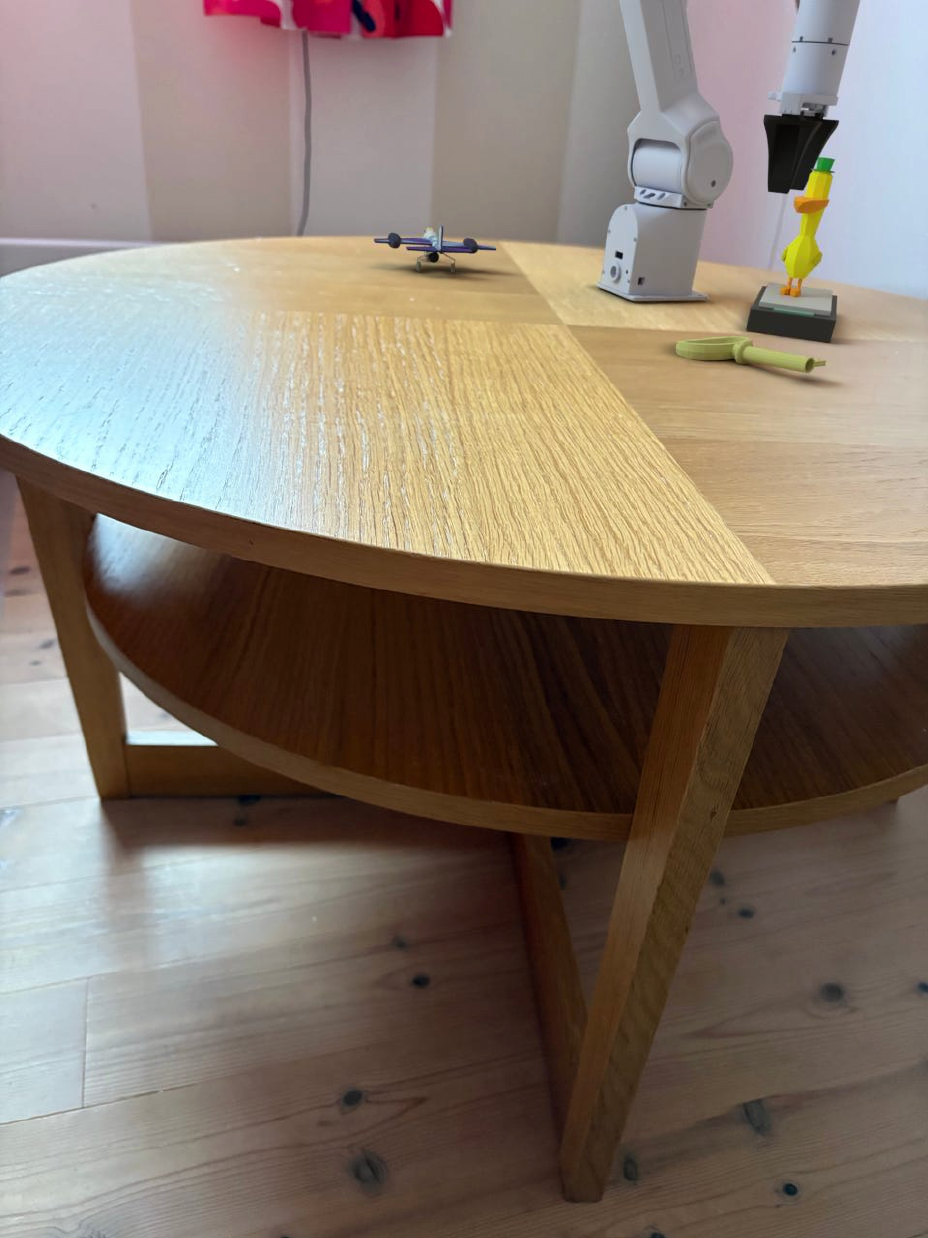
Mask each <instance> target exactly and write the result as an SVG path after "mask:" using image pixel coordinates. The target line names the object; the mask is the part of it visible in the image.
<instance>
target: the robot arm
mask: <svg viewBox="0 0 928 1238" xmlns="http://www.w3.org/2000/svg"><path fill="white" fill-rule="evenodd" d="M618 1H619V5H620V11H621V16H622V21H623V26H624V31H625V36H626V41H627V47H628V52H629V56H630V61H631V67H632V72H633V78H634V81H635V86H636V87H635V88H636V93H637V98H638V102H639V108H640V111H639V112H638V113H637V115H636V116H635V117H634V119H633V120H632V121H631V122H630V124H629V125H628V127H627V129H626V133H627V137H628V144H629V146H628V147H629V150H628V157H627V176H628V179H629V182H630V185H631V186H632V188H633V189H634V194H633V200H637V201H636V202H635V203H627V204H623V205H620V206H619V207H617V208H616V209H615V210H614V212H613V214H612V216H611V218H610V220H609V223H608V227H607V234H606V240H605V247H604V255H603V262H602V267H601V268H602V269H601V276H600V281H596V287H597V288H600V289H602V290H605V291H607V292H609V293H611V294H614V295H617V296H619V297H621V298H624V299H627V300H629V301H632V302H675V301H677V302H679V301H680V302H681V301H682V302H683V301H688V302H689V301H708V300H709V295H707V294H704V293H702V292H700V291H699V292H698V291H696V290H694V289H693V287H694V281H695V276H696V273H697V272H696V271H697V267H698V262H699V256H700V251H701V246H702V240H703V236H704V229H705V225H706V220H707V214H708V209H709V210H711V209H714V205H715V202H716V201H717V200H718V199H719V198H720V197H721V196H722V195H723V193H724V192H725V190H726V189H727V187H728V185H729V184H730V180H731V178H732V174H733V171H734V170H733V169H734V153H733V152H734V151H733V148H732V146H731V143H730V141H729V140H728V138H727V137H726V135H725V134H724V131H723V129H722V124H721V116H720V115H719V113H718V112H717V111H716V110H715V108H714V107H713V106H712V105H711V104H710V103H709V102H708V101H707V100H706V98H705V97H704V96H703V95H702V94H701V93H700V91H699V85H698V78H697V72H696V65H695V58H694V53H693V45H692V40H691V33H690V26H689V20H688V12H687V7H686V0H618ZM860 4H861V0H800V1H799V5H798V9H797V15H796V19H795V23H794V29H793V33H792V38H791V43H790V48H789V50H788V51H789V52H788V56H787V61H786V65H785V70H784V74H783V80H782V82H781V83H782V84H781V88H780V92H777V91H769V92H768V95H767V100H771V101H772V100H774V101H777V102H779V106H778V107H779V108H778V114H779V115H778V114H777V115H776V114H764V115H763V118H762V119H763V121H762V122H763V127H764V130H765V136H766V141H767V142H766V143H767V192H768V193H773V194H782V195H789V193H790V191H791V190H793V191H799V192H800V191H802V192H803V191H805V190H806V189H805V188H807V185H808V181H809V177H810V174H811V173H812V172H813V171H814V170H811V169H815V166H816V165H817V161H818V157H820V156H821V153H822V152H823V149H824V148H825V146H826V144H827V142H828V141H829V139H830V138H831V136H833V134H834V132H835V131H836V130H837V128H838V126H839V124H840V120H839V119H828V118H827V117H828V113H829V109H830V107H836V106H837V105H838V102H839V96H838V93H839V89H840V85H841V81H842V78H843V73H844V69H845V65H846V61H847V57H848V53H849V48H850V44H851V40H852V37H853V32H854V30H855V29H854V28H855V25H856V20H857V16H858V12H859V8H860ZM807 109H808V110H807ZM780 114H781V115H780Z"/></svg>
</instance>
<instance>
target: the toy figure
mask: <svg viewBox="0 0 928 1238" xmlns="http://www.w3.org/2000/svg"><path fill="white" fill-rule="evenodd" d="M835 161H836V159H835V158H831V157H822V156H819V157H818V160H817V162H816V168H814V169H811V170H813V171H812V173H811V174H810V177H809V181H808V183H807V185H806V189H805V193H804V195H801V196H795V197H794V198H793V208H794V210H795V212H796V214H801V217H800V226H799V232H798V235H797V236H796V237H795V238H794V239H793V240H792V241H791V242H790V243H789V244H788V245H787V246H786V245H785V248H784V250H783V252H782V254H781V258H780V259H781V261H782V262H784V266H785V269H786V272H787V273H786V274H787V276H788V279H787V284H786V285H787V287H786V286H781V290H780V294H782V295H789V294H790V296H792V297H798V296H800V295H801V289H800V288H801V287H802V284H803V281H804V280H805V279H806V278H807V277H808V276H809V275H810V274H811V273H812V271H814V270H815V268H816V267H818V265H819V264H820V263H821V262H822V258H823V253H822V251H820V248H819V245H818V243H817V240H816V237H815V236H816V234H817V231H818V229H819V226H820V223H821V220H822V217H823V215H824V212H825V209H826V208H827V207H828V205H829V203H830V199H829V195H830V191H831V187H832V184H833V178H834V176H833V174H835V173H836V171H834V170H832V168H833V165H834V163H835ZM793 279H798V281H797V284H796V286H797V288H791V285H793V284H792V283H793Z"/></svg>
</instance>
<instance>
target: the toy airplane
mask: <svg viewBox="0 0 928 1238" xmlns="http://www.w3.org/2000/svg"><path fill="white" fill-rule="evenodd" d="M423 232H424V234H423V237H401V236H400V234H398V233H396V232H390V233H388V236H387V237H385V238H384V237H383V238H378V237H375V238H373V242H374V243H375V244H388V245H387V246H389V247H390V248H391V249H394V250H395V249H396V250H397V249H399V248H400V247H401V245H408V246H405V249H406V250H407V251H411V252H412V251H413V252H423V254H422V255H420V256H417V257H416V267H415V268H416V271H417V272H418V273H420V272H421V270H422V262H421V261H419V259H422V258H425V260H426V261H427V262H428V261H429V262H430V263H434V264H435V263H438V261H439V260H440V255H443V256H445V257H447V258H448V259H450V260H453V262H452V263H450V269H449V270H450V273H451V274H455V273H456V258H454V257H452V256H450V255H448V254H470V255H471V254H474V255H475V254H476V253H478V251H492V252H493V251H495V252H496V251H497V248H496V246H495V245H488V244H487V245H486V244H478V242H477V241H476V240H475V239H474V238H471V237H470V238H469V237H466V238H464V239H463V240H462V242H457V241H451V240H444V226H443V225H441V224H440V225H439V230H438V234H437V232H435V231H434V228H433V227H430V226H429V227H427V228H426V231H425V230H423ZM410 245H411V246H410Z"/></svg>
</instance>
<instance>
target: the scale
mask: <svg viewBox="0 0 928 1238" xmlns="http://www.w3.org/2000/svg"><path fill="white" fill-rule="evenodd" d="M781 286H786V287H787V284H785V283H777V282H770V281H769V282H768V283H767V286H766V285H762V286H761V288H760V290H759V291H758V294H757V295H756V298H755V300H754V301H753V303H752V304H751V307H750V309H749V314H748V319H747V323H746V327H745V331H746V332H753V333H760V334H767V335H774V336H780V337H787V338H796V339H802V340H808V341H815V342H822V343H831V341H832V337H833V334H834V331H835V327H836V323H837V313H838V312H837V311H838V295H835V294H833V292H834V290H831V289H823V288H817V287H816V288H815V287H808V286H801V288H800V289H801V295H800V296H798V297H792V296H790V294H789V295H782V294H780V290H781ZM791 288H797V285H793V284H791Z"/></svg>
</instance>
